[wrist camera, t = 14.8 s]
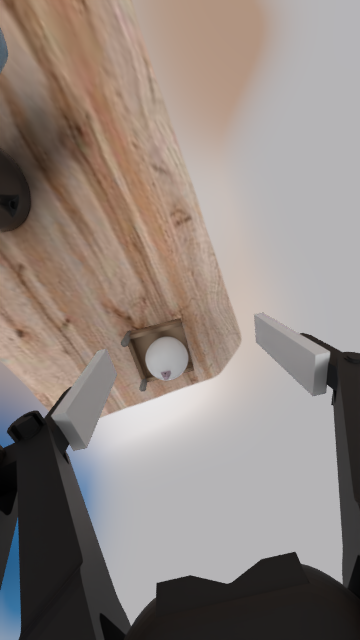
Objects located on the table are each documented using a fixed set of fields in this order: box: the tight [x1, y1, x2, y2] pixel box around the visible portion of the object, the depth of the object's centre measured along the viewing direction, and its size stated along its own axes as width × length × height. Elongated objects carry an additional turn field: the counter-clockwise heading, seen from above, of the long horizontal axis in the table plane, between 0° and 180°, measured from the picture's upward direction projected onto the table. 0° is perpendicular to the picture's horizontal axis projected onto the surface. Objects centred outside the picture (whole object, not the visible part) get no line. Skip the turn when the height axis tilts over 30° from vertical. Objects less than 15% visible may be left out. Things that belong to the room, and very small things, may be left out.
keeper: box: [121, 319, 194, 391], centre depth 46 cm, size 15×15×6 cm
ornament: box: [145, 336, 188, 380], centre depth 43 cm, size 10×10×12 cm
